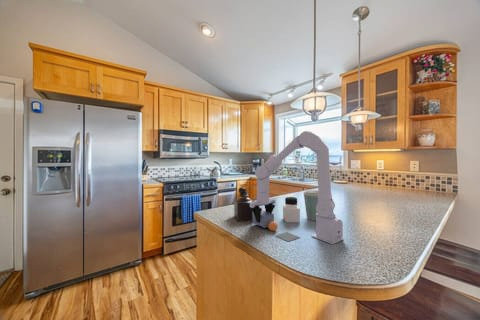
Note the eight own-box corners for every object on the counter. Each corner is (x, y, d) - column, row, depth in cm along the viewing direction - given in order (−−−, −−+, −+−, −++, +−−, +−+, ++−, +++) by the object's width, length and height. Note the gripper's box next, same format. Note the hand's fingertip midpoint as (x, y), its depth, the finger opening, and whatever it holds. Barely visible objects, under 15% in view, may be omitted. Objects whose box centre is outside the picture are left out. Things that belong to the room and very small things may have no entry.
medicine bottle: (299, 222, 101) (300, 198, 100) (285, 222, 101) (285, 198, 101) (296, 218, 108) (296, 195, 108) (282, 218, 108) (282, 195, 108)
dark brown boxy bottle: (232, 215, 112) (232, 183, 112) (251, 214, 115) (251, 183, 115) (239, 225, 97) (239, 188, 97) (260, 223, 100) (260, 187, 100)
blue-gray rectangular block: (273, 225, 93) (273, 214, 93) (264, 227, 90) (264, 216, 90) (261, 220, 100) (261, 210, 100) (252, 222, 97) (252, 212, 97)
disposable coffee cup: (300, 219, 106) (300, 190, 106) (306, 214, 115) (306, 188, 114) (321, 223, 100) (321, 193, 99) (326, 217, 108) (326, 190, 108)
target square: (299, 237, 82) (299, 237, 82) (288, 241, 78) (288, 241, 78) (286, 232, 88) (286, 231, 88) (275, 236, 84) (275, 235, 84)
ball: (279, 231, 89) (279, 222, 89) (272, 233, 87) (272, 223, 87) (272, 228, 93) (272, 219, 93) (266, 230, 90) (266, 221, 90)
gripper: (268, 189, 102) (268, 215, 103) (245, 192, 94) (245, 221, 94) (278, 191, 97) (278, 219, 97) (255, 194, 88) (255, 225, 88)
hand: (263, 220), depth 95 cm, fingers closed on blue-gray rectangular block, 6 cm apart
